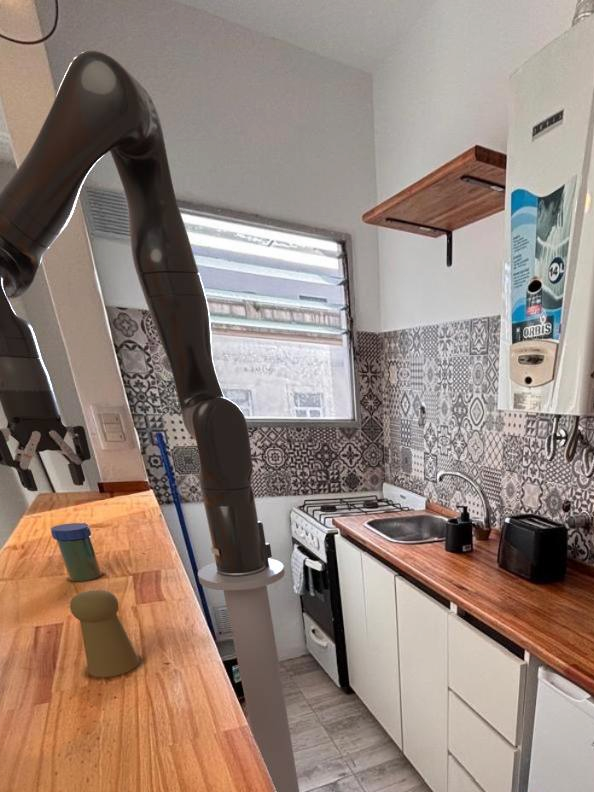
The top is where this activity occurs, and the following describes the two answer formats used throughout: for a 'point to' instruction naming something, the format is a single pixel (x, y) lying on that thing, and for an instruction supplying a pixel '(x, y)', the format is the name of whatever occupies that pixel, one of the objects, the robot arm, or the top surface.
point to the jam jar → (80, 559)
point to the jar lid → (70, 531)
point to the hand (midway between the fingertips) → (56, 487)
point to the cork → (103, 634)
